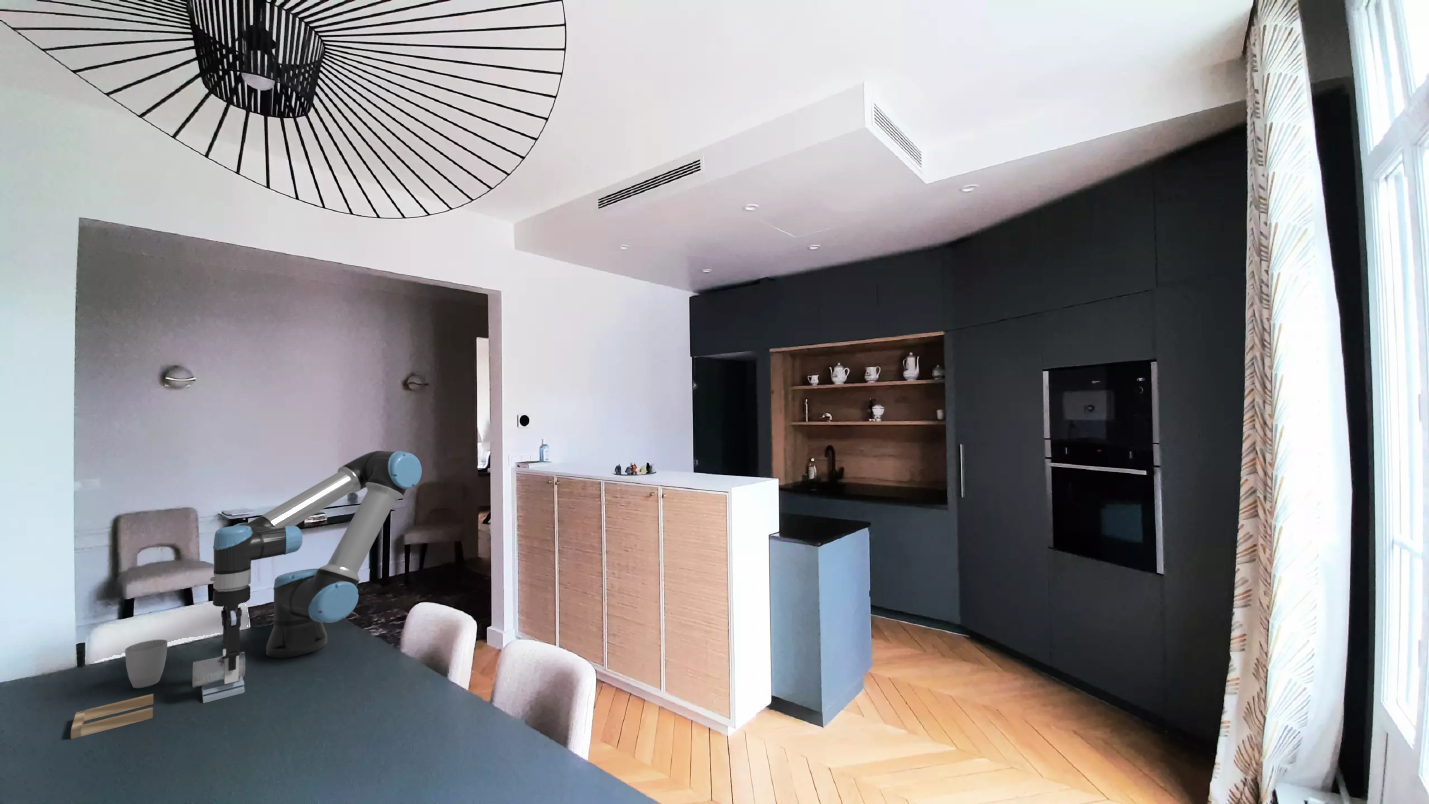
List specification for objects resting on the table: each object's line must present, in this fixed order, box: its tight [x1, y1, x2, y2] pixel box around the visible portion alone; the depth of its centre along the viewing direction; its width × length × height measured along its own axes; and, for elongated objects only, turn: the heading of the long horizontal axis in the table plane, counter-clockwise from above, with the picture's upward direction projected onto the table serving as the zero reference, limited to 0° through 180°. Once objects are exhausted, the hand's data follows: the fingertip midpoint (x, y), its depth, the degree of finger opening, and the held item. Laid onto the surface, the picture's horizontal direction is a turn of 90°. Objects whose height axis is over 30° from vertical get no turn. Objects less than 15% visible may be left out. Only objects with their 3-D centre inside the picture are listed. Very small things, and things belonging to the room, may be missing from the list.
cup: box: [124, 639, 168, 689], centre depth 155 cm, size 8×8×10 cm
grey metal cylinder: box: [191, 651, 246, 689], centre depth 150 cm, size 10×6×6 cm, turn 133°
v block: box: [201, 676, 246, 704], centre depth 151 cm, size 8×8×2 cm
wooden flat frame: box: [70, 693, 154, 740], centre depth 137 cm, size 10×13×2 cm
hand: (230, 677), depth 152 cm, fingers closed on grey metal cylinder, 6 cm apart
